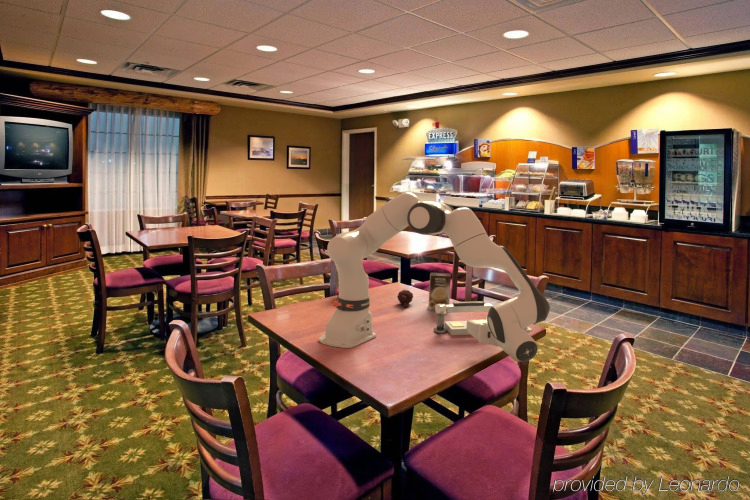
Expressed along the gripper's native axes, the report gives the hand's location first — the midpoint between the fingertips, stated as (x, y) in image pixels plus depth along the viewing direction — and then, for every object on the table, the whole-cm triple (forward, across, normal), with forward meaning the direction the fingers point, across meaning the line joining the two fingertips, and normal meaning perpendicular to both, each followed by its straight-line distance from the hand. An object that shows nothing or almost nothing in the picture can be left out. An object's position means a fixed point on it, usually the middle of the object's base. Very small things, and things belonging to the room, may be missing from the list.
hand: (488, 319), depth 158 cm
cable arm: (+14, +5, +1) cm, 15 cm away
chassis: (+14, +4, +9) cm, 17 cm away
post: (+14, +14, +9) cm, 21 cm away
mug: (+69, +46, +9) cm, 84 cm away
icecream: (+52, +20, +9) cm, 56 cm away
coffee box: (+43, +6, +9) cm, 44 cm away
